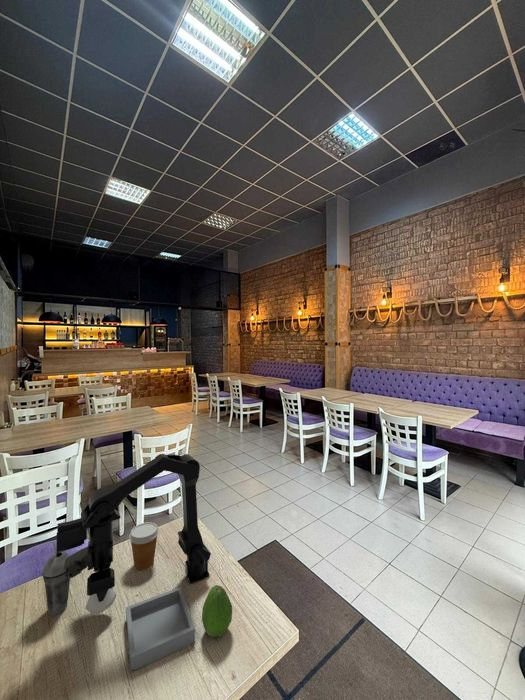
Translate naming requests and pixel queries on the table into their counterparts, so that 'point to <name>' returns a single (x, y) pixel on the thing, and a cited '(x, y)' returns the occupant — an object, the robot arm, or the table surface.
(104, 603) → the flask
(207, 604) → the avocado
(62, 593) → the beverage cup
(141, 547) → the disposable coffee cup
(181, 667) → the table surface
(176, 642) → the serving bin
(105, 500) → the robot arm
